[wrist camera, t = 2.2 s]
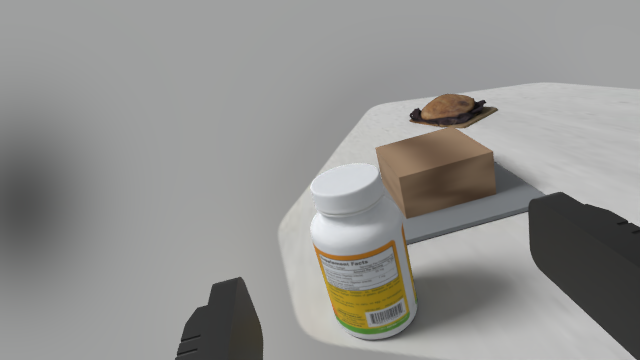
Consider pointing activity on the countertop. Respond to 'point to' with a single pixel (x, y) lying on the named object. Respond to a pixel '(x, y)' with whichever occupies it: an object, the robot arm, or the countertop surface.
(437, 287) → the countertop surface
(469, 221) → the mat
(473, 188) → the walnut block
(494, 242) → the countertop surface
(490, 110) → the bread roll
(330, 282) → the supplement bottle
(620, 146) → the countertop surface
